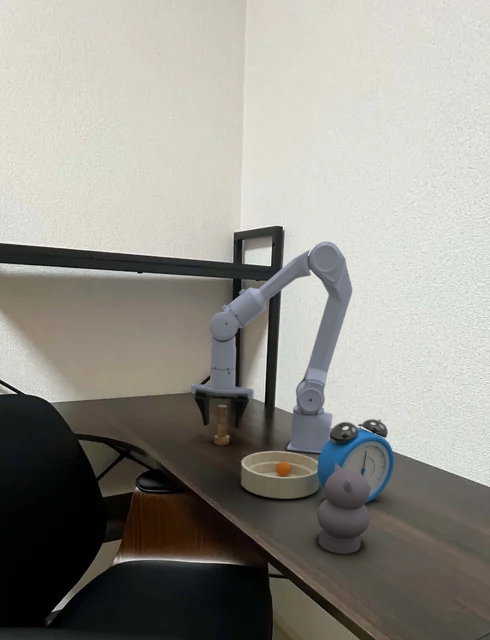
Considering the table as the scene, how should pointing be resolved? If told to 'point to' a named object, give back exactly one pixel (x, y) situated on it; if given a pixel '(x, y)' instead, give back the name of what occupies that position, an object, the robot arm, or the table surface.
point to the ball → (283, 469)
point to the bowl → (266, 481)
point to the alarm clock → (359, 454)
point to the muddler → (222, 426)
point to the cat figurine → (344, 511)
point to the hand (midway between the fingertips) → (221, 426)
